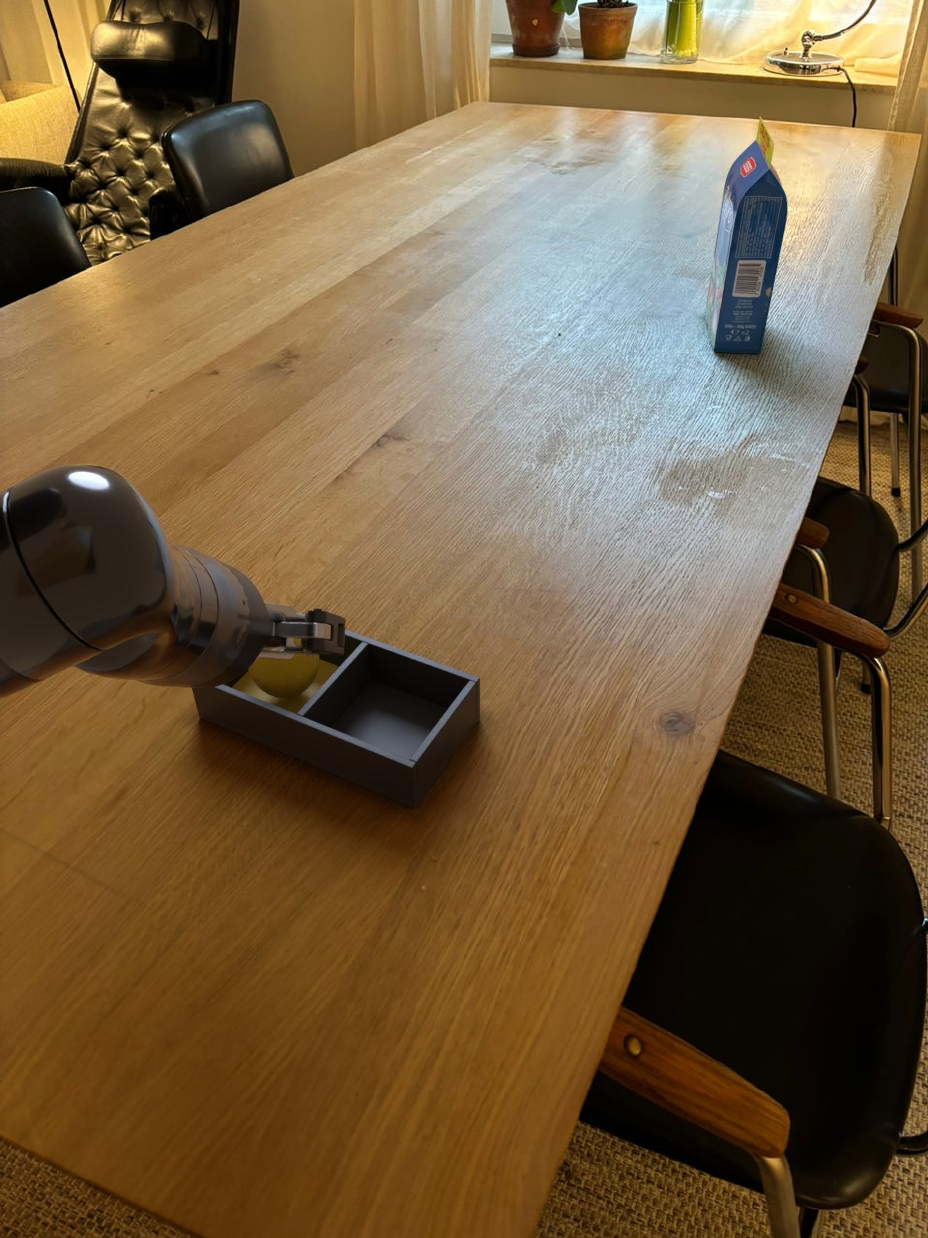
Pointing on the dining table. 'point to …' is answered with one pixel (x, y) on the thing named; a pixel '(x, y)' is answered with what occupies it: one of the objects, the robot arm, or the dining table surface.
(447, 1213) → the dining table surface
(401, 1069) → the dining table surface
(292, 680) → the lemon
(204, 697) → the sorter
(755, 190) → the blue food package
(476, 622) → the dining table surface
